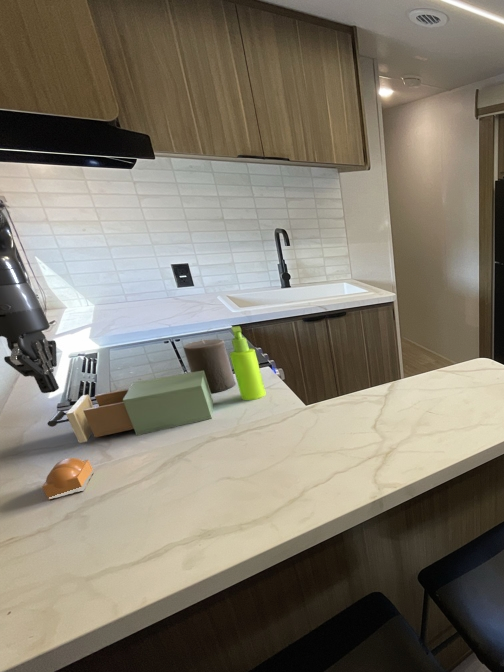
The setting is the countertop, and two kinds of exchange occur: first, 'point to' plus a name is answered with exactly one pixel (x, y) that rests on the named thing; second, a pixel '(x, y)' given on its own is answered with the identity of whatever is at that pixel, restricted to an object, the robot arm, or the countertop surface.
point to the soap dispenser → (246, 368)
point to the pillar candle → (211, 363)
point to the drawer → (96, 416)
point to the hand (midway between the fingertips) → (50, 391)
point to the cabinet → (168, 402)
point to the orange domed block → (66, 476)
